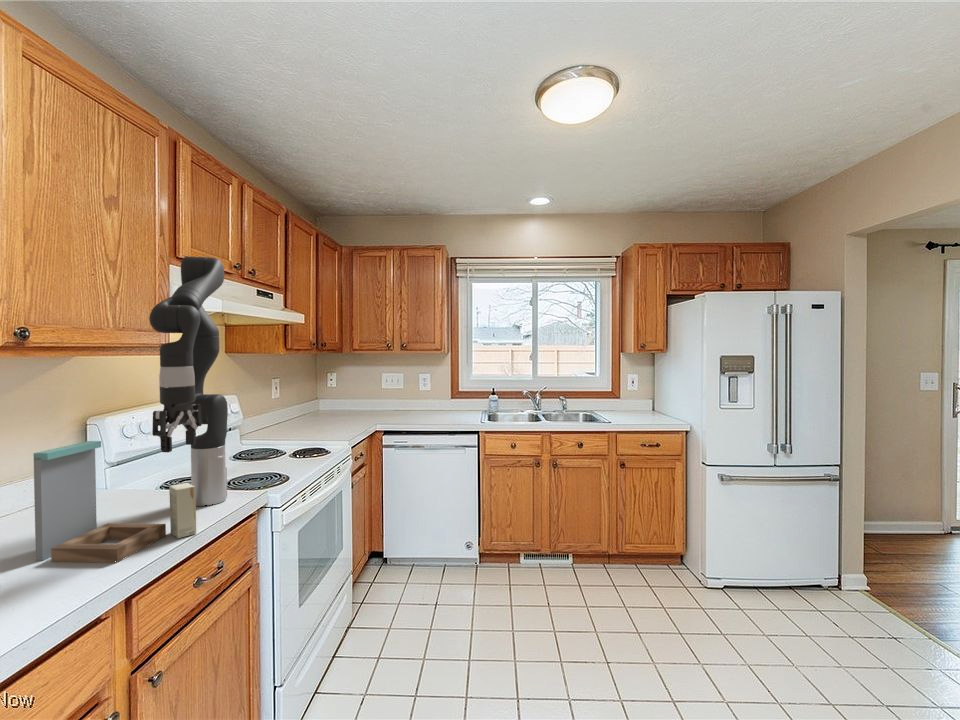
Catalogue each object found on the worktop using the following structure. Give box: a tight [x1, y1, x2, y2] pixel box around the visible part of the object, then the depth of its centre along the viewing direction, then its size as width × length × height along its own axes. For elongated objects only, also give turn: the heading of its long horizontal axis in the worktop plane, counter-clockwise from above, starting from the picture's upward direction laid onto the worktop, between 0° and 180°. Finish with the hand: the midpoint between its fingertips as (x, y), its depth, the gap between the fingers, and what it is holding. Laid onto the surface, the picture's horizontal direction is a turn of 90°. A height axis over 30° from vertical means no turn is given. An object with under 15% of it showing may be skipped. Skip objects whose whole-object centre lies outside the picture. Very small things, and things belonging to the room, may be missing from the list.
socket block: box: [50, 522, 167, 563], centre depth 110 cm, size 15×15×3 cm
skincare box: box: [168, 482, 197, 539], centre depth 118 cm, size 6×4×12 cm
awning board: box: [33, 440, 102, 562], centre depth 110 cm, size 14×3×24 cm, turn 178°
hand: (179, 448), depth 118 cm, fingers open, 8 cm apart
